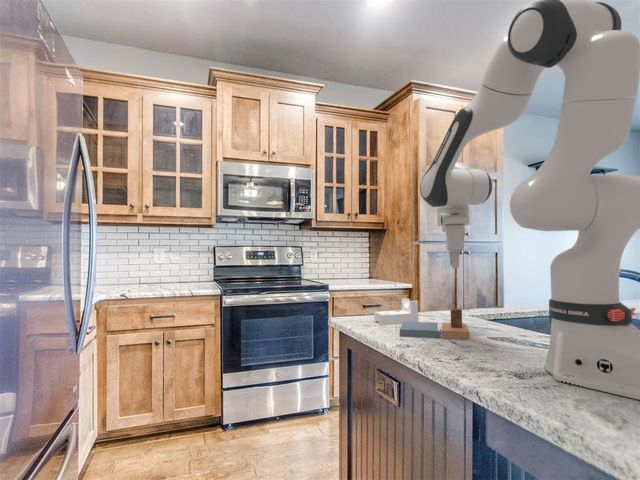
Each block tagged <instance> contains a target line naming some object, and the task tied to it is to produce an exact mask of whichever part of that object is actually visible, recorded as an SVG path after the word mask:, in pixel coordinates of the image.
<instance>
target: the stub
mask: <svg viewBox="0 0 640 480" xmlns="http://www.w3.org/2000/svg"><path fill="white" fill-rule="evenodd" d="M441 334H442V336H441V337H442V339H454V340H457V339H458V340H470V336H471V335H470V330H469V327H468V324H467V323H465V322H463V310H462V309H461V308H450V322H441Z"/></svg>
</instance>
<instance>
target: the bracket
mask: <svg viewBox="0 0 640 480" xmlns="http://www.w3.org/2000/svg"><path fill="white" fill-rule="evenodd" d="M373 317H374V319H373V320H374V321H376V322H377V324H379V325H381V326H390V325H391V326H393V324H394V325H402V323H403V321H406V322H419V301H418V300H410V298H401V309H400V310H399V309H397V310H383V311H374V312H373Z"/></svg>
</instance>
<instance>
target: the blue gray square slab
mask: <svg viewBox="0 0 640 480" xmlns="http://www.w3.org/2000/svg"><path fill="white" fill-rule="evenodd" d="M399 337H409V338H411V337H412V338H424V339H425V338H428V339H429V338H430V339H441V324H440V322H439V321H438V322H429V321H428V322H427V321H418V322H406V321H403V323H402V324H400V327H399Z"/></svg>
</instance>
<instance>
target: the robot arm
mask: <svg viewBox="0 0 640 480" xmlns="http://www.w3.org/2000/svg"><path fill="white" fill-rule="evenodd" d="M507 32H508V33H507V35H506V36H504V37H503V38H502V39H501V40H500V41H499V43H498V45H497V47H496V48H495V50H494V52H493V54H492V56H491V58H490V60H489V63H488V64H487V67H486V70H485V72H484V75H483V77H482V81H481V84H480V86H479V88H478V90H477V91H476V93H475V95H474V97H473V98H472V99H471V101H469V103H468V104H467V105H466V106H465V107H463V108H461V109H459V110H458V112H457V113H456V114H455V116H454V118H453V120H452V121H451V124H450V126H449V128H448V130H447V132H446V133H445V136H444V138H443V139H442V142H441V144H440V146H439V148H438V150H437V152H436V154H435V156H434V158H433V161H432V163H431V165H430V166H429V168H428V169H427V170H426V172H425V173H424V175H423V177H422V179H421V182H420V187H419V192H420V193H419V194H420V196H421V199H423V200H424V202H426V203H427V205H429V206H431V207H432V208H436V209H437V211H436V214H437V216H436V217H437V227H441V230H442V232H445V239H446V241H445V242H446V251H447V252H449V260H450V263H449V265H450V266H451V268H452V269H459V268H460V253H461V252H464V251H463V250H464V245H465V237H466V236H465V235H466V233H465V232H466V226H470V225H471V224H470V223H471V222H470V206H477V205H480V204H481V205H482V204H484V203H485V202H486V201H488V199H489V198H490V197H491V195H492V191H493V181H492V178H491V176H490V174H489V172H487V171H486V170H483V169H478V168H472V167H469V166H468V165H467V164H466V163H465V162H463V161H462V162H461V161H458V160H459V158H460V156H461V155H462V152H463V150H464V149H465V147H466V146H467V145H468V143H470V142H471V141H472V140H474V139H476V138H477V137H479V136H482V135H484V134H486V133H490V132H492V131H496V130H500V129H502V128H505V127H507V126H509V125H511V124H513V123H515V122H516V121H517V120H518V119H519V118H520V117H521V116H522V114H523V113H524V111H525V110H526V108H527V106H528V104H529V102H530V100H531V97H532V95H533V92H534V91H535V87H536V85H537V82H538V79H539V77H540V76H541V74H542V72H543V71H544V70H545V69H546V68H548V69H551V68H553V67H554V66H557V67H559V68H560V69H561V70H562V72H563V74H564V75H563V76H564V87H563V93H562V100H561V101H562V102H561V105H560V106H561V108H560V114H559V120H558V124H557V129H556V130H557V131H556V134H555V137H554V138H555V139H554V142H553V144H552V147H551V150H550V151H549V153H548V156H547V157H546V158H545V160H544V161H543V163H542V164H541V165H540V166H539V167H538V169H537V170H536V171H535V172H534V173H532V174H531V175H530V176H528V178H526V179H525V180H523V181H521V182H520V183H519V184H518V185H517V186H516V188H515V189H514V190H513V192H512V194H511V197H510V201H509V209H510V213H511V216H512V219H513V220H514V221H515V222H516V224H517V225H519V226H520V227H521V228H523V229H528V230H529V229H530V230H535V231H540V232H568V231H569V232H570V231H571V232H572V231H573V232H574V231H578V233H577V234H578V235H577V239H576V241H575V243H574V244H573V246H572V247H570V248H568V249H566V250H564V251H562V252H560V253H558V255H556V256H555V257H554V258H553V260H552V262H551V263H550V268H549V269H550V295H551V297H550V299H549V300H548V317H549V321H550V337H549V346H548V352H547V356H546V359H545V362H544V367H543V368H544V369H545V370H546V371H547V372H548V373H550V374H551V375H552V376H553V377H552V378H553V379H554V380H555V381H558V382H561V381H563V382H562V383H565V382H567V383H566V384H569V383H571V385H574V384H575V386H578V385H579V386H580V387H582V386H583V388H588V389H592V390H595V391H600V392H605V393H609V394H612V395H618V396H622V397H626V398H632V399H634V400H638V401H639V400H640V329H639V328H638V327H637V326H635V325H633V323H632V321H633V315H636V314H637V313H636V310H637V309H636V308H635V307H632V308H629V307H627V306H626V305H624V304H623V303H622V302H621V301H620V269H621V266H620V265H621V260H622V256H623V254H624V251H625V249H626V247H627V245H628V243H629V241H630V240H631V239H632V237H633V236H634V234H636V232H637V231H639V230H640V176H638V175H632V174H623V173H609V174H608V173H603V174H591V173H592V171H593V169H594V168H595V166H596V165H598V163H599V162H600V161H601V160H603V159H604V158H606V157H608V156H609V155H611V154H614V153H615V152H617V151H619V150H620V149H622V148H623V146H624V145H625V144H626V143H627V141H628V139H629V138H630V133H631V127H632V121H633V117H634V111H635V107H636V103H637V102H636V101H637V96H638V90H639V83H640V41H639V39H638V37H637V36H636V35H635V34H633V33H632V32H629V31H625V30H622V18H621V16H620V14H619V12H618V11H617V10H616V8H614V7H613V6H611V5H609V4H607V3H605V2H601V1H592V0H533V1H531V2H528V3H527V4H526V5H524V6H523V7H522V8H520V9H519V10H518V12H517V13H516V14H515V16H514V17H513V18H512V20H511V22H510V24H509V28H508V31H507ZM579 386H578V387H579Z"/></svg>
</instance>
